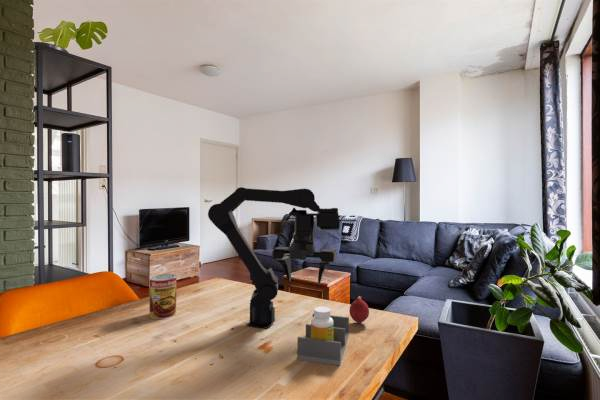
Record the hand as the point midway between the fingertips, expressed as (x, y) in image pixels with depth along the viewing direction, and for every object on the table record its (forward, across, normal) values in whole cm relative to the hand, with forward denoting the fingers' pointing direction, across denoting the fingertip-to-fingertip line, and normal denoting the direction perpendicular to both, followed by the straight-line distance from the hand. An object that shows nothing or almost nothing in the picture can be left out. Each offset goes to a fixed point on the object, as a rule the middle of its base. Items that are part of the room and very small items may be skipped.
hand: (304, 282), depth 94 cm
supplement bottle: (+11, +9, -17) cm, 22 cm away
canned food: (+12, -45, -6) cm, 47 cm away
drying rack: (+12, +9, -13) cm, 20 cm away
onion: (+12, +16, +4) cm, 21 cm away
